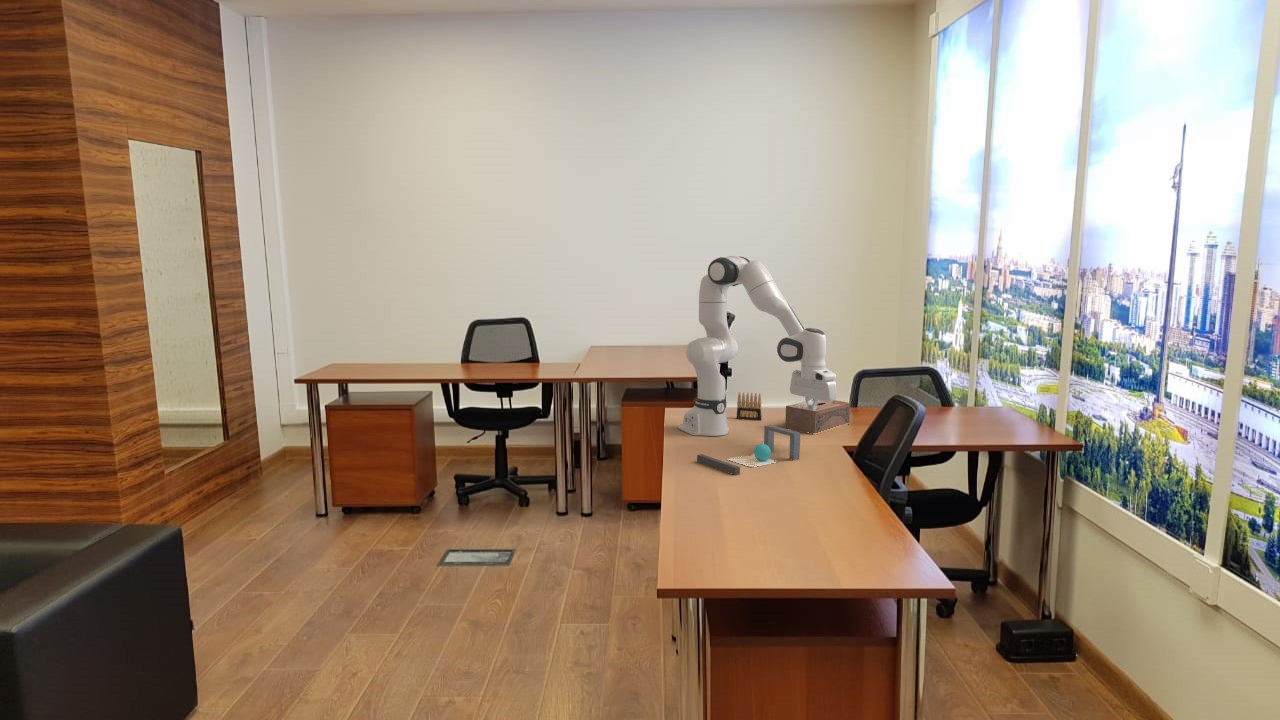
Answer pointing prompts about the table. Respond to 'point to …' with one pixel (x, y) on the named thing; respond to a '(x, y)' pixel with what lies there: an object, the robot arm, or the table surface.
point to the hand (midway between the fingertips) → (811, 409)
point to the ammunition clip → (747, 411)
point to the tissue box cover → (817, 416)
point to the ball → (762, 452)
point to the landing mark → (759, 463)
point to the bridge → (793, 435)
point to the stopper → (718, 464)
